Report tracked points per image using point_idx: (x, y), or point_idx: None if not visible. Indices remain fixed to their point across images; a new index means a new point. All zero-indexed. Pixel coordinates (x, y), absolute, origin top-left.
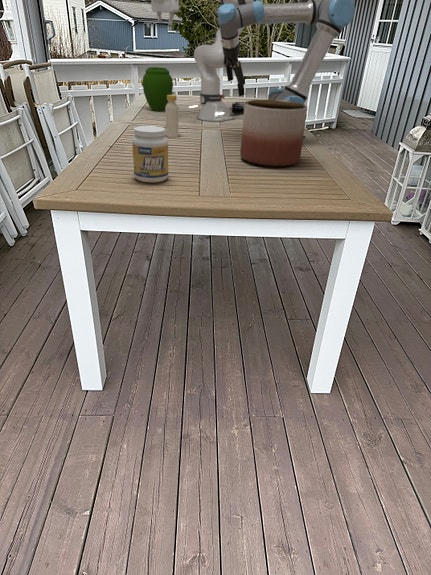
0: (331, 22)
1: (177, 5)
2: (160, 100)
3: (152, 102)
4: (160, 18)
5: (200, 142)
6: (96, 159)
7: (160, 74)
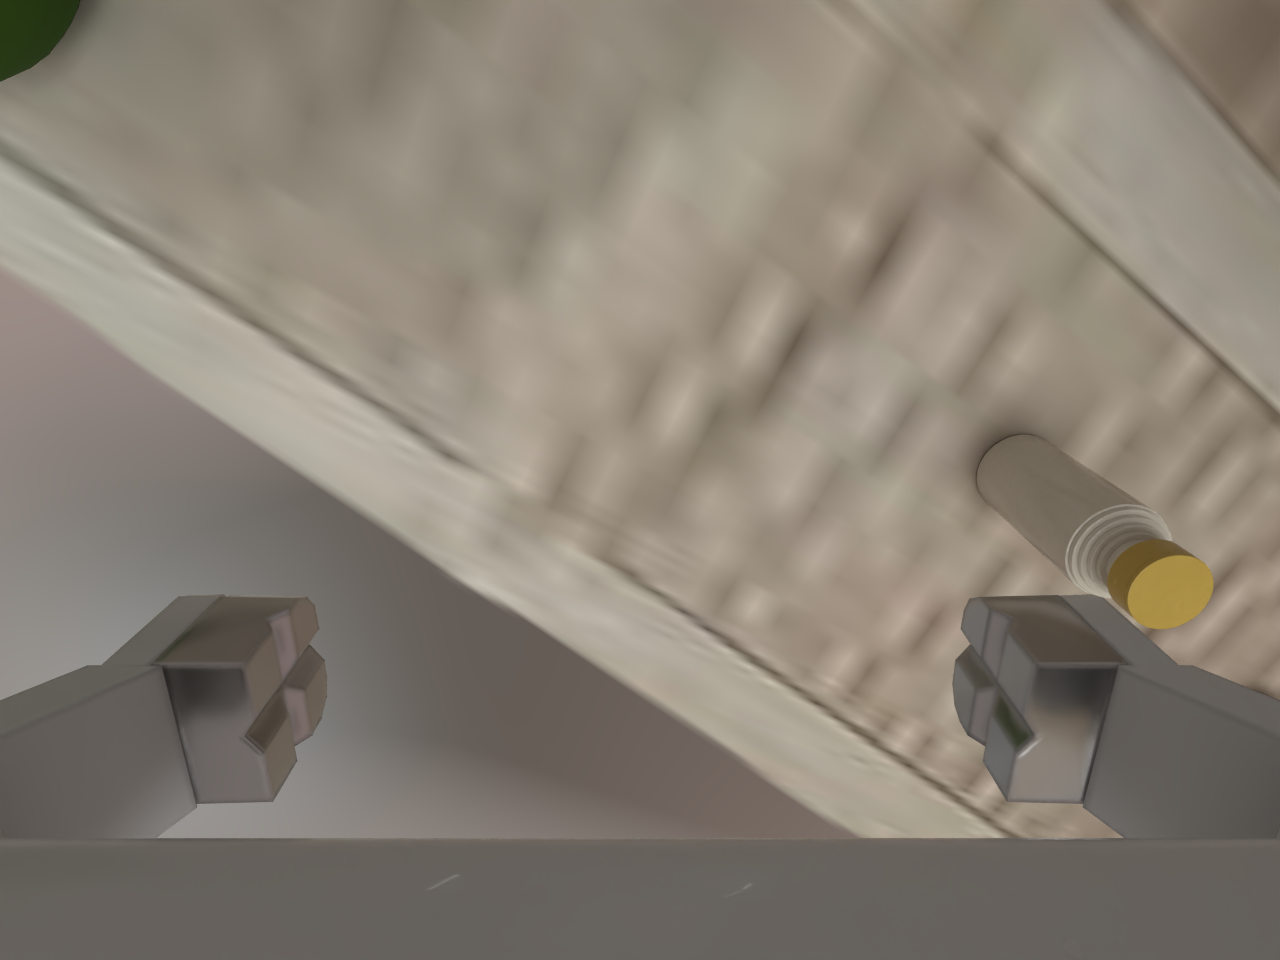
0: None
1: None
2: None
3: (33, 64)
4: (153, 732)
5: (1269, 415)
6: None
7: None
